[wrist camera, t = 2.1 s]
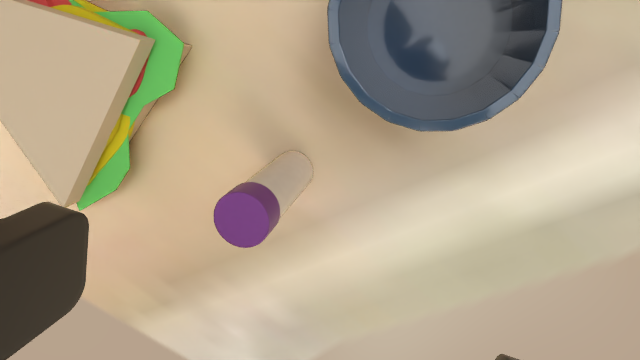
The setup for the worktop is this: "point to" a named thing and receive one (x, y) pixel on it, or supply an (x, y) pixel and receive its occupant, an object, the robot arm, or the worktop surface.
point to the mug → (441, 56)
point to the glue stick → (262, 200)
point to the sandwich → (81, 89)
